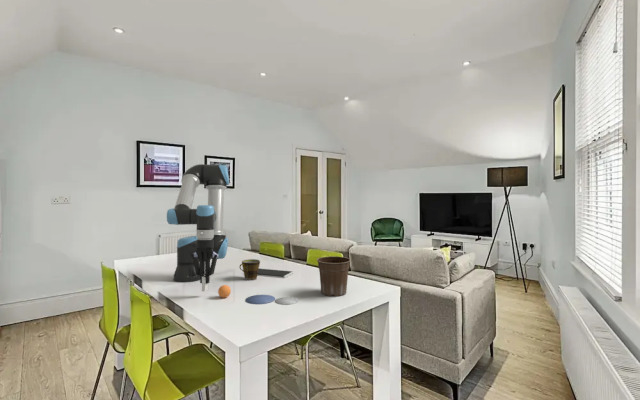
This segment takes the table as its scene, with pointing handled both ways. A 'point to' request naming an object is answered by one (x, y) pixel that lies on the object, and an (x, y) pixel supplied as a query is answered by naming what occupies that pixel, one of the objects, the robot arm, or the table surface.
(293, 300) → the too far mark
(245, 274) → the ceramic cup
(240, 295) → the table surface
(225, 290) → the ball
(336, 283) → the plant pot
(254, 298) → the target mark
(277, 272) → the dark grey flat slab
